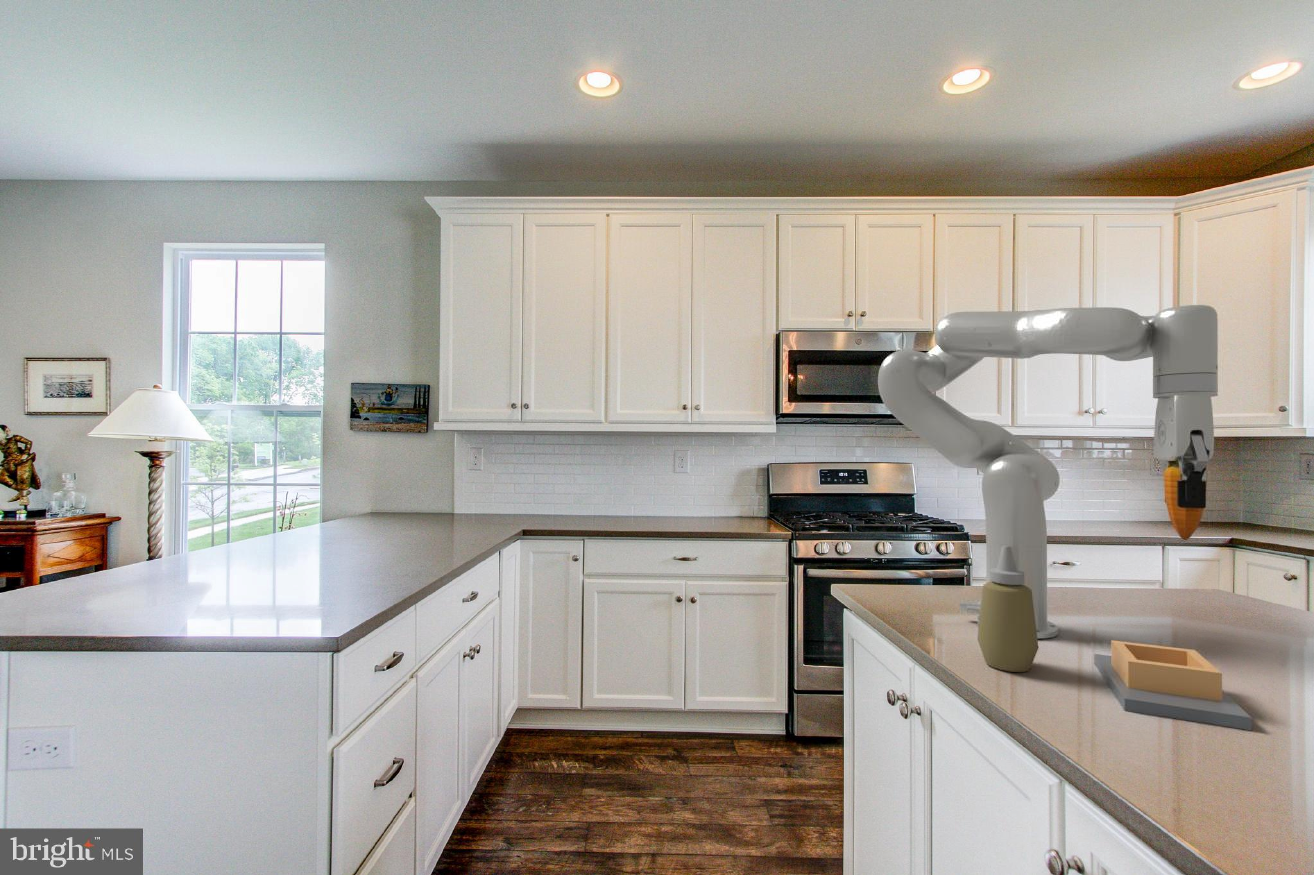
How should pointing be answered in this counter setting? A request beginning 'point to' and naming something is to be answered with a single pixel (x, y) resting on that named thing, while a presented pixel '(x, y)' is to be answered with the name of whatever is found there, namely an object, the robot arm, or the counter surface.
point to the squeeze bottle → (1007, 618)
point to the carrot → (1180, 517)
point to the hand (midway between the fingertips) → (1184, 504)
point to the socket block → (1169, 684)
